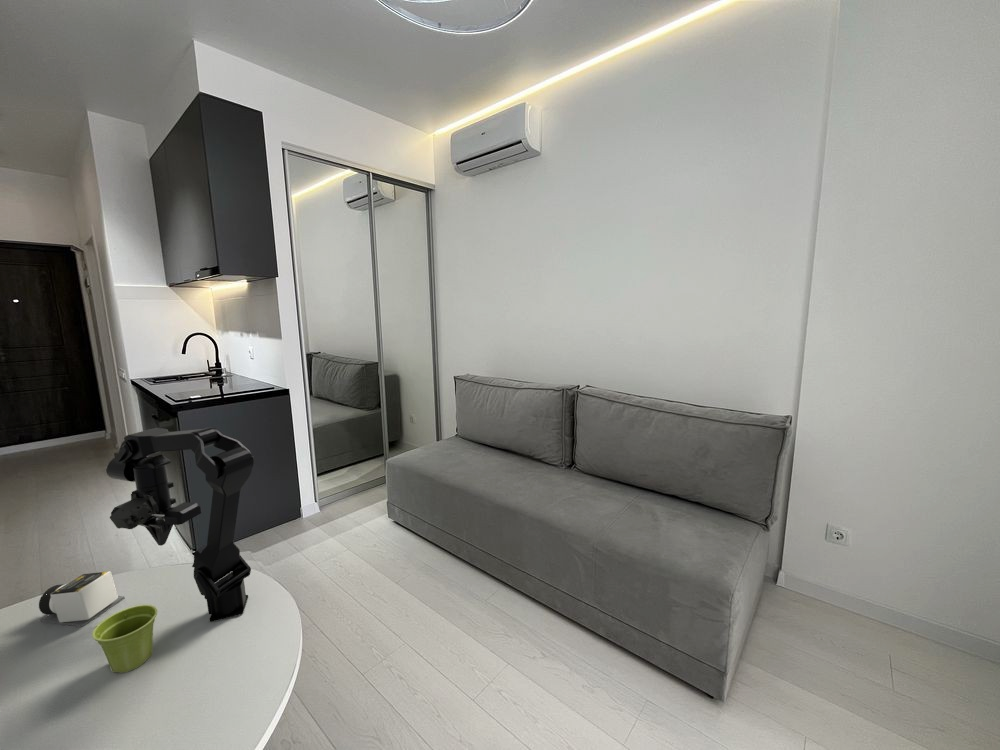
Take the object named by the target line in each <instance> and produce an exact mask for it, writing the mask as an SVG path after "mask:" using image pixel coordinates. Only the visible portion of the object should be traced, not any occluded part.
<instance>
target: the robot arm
mask: <svg viewBox="0 0 1000 750" xmlns="http://www.w3.org/2000/svg"><path fill="white" fill-rule="evenodd" d="M211 446H213V447H215V448H217V449H220V450H222V451H223V452H220V453H217V454H214V455H212V456H209V455H208V454H207V453H205V452H206V451H205V448H208V447H211ZM187 450H190V451H192V453H194V458H195V464H196V465H195V466H196V467H197V468H198V469H199V470H200V471H201V472H202V473H204V474H205V481H206V482H207V484H208V485H209V486H210V488H211V489H212V496H211V497H212V498H211V504H210V515H209V524H208V533H207V541H206V544H205V545H204V546H202V547H200V548H199V549H197V550H195V552H194V553H193V562H192V563H193V564H192V565H191V567H192V568H193V579H194V581H195V584H196V585H197V589H198V591H199V593H200V595H201V596H204V599H205V600H206V604H207V605H206V606H207V612H208V615H209V616H210V617H209V621H208V622H210V623H212V622H216V621H221V620H225V619H229V618H232V617H237V616H240V615H241V616H242V615H243V614H244V613H245V608H246V605H247V602H248V599H249V595H248V594H246V588H245V587H246V585H245V579H246V578H247V577H250V575H251V572H252V568H251V567H250V565H249V564H248V562H246V560H245V559H244V558H243V557H242V556H241V553H240V552H241V550H240V548H239V547H238V546H237V545H236V544H235V541H234V539H235V533H236V532H235V531H236V524H237V519H238V518H237V517H238V510H239V503H240V495H241V489H242V488H243V486H244V485H245V483H246V482H247V481H248V479H249V478H250V476H251V474H252V471H253V468H254V464H255V459H254V456H253V455H254V454H253V453H252V452H251V451H250V450H249V449H248V448H247V447H246V446H245V445H244V444H242V442H241V441H239V440H238V439H236V438H232V437H230V436H227V435H224V434H223V433H221V432H220V431H219V430H218V429H217V428H216V427H211V426H210V427H209V426H208V427H205V428H201V429H200V428H199V429H188V430H177V431H169V430H168V429H167V428H162V427H155V428H150V429H145V430H141V431H138V432H134V433H130V434H127V435H125V436H124V437H123V441H122V442H121V445H120V447H119V450H118V451H116V452H114V453H113V454H114V455H113V456H114V458H112V459H111V460H110V461H109V462H108V464H107V467H106V469H105V470H106V474H107V476H108V477H109V478H111V479H114V480H118V481H119V480H120V481H126V482H131V483H135V490H132V491H131V493H130V500H128V501H126V502H124V503H121V504H120V505H117V506H114V508H113V509H112V510H111V511H110V516H109V519H110V520H111V522H112V523H113V524H114V526H115V527H116V528H117V529H126V530H133V529H136V528H137V527H138V526H141V527H143V528H145V529H146V530H147V531H148V533H149V534H150V535H151V537H152V538H153V540H154V542H156V544H157V546H164V545H165V544H167V543H166V542H167V540H168V538H169V536H170V534H171V531H172V528H173V527H174V526H180V525H183V524H184V523H187V522H188V521H191V520H192V519H194V518H196V517H197V516H199V515H200V514H202V508H201V504H199V503H197V502H190V501H189V502H187V501H186V502H185V501H184V502H182V503H180V504H178V505H174V504H176V503H177V500H176V498H172V497H171V491H170V489H171V488H173V487H174V482H170V481H169V480H168V472H167V465H170V464H171V463H172V461H171V460H170V459H169V458H167V457H166V456H164V455H163V454H158V453H162V452H172V451H173V452H175V451H187ZM154 454H158V455H156V456H151V455H154Z"/></svg>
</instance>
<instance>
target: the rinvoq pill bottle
mask: <svg viewBox="0 0 1000 750" xmlns="http://www.w3.org/2000/svg"><path fill="white" fill-rule="evenodd" d="M46 594H47V595H46ZM118 596H119V595H118V591H117V589H116V586H115V581H114V578H113V575H112V572H111V570H110V571H108V570H107V571H102V572H92V573H91V572H90V573H89V572H88V573H83V574H81V575H79V576H78V577H76V578H74V579H72V580H70V581H69V582H68V583H61V584H56V585H53V586H51V587H48V589H47V590H45V592H43V594H42V595H41V597H40V599H39V602H38V609H39V611H40V612H41V613H42V614H43V615H46V616H48V615H51V614H57V617H58V620H59V622H70V621H79V620H88V619H90V618H91V617H93V616H94V615H96V614H97V613H98V612H100V611H101V610H103V609H104V608H105V607H107V606H108V605H110V604H111V603H112V602H114V601H115V600H117V599H118Z"/></svg>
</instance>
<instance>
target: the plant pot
mask: <svg viewBox="0 0 1000 750" xmlns="http://www.w3.org/2000/svg"><path fill="white" fill-rule="evenodd" d="M157 615H158V609H157V607H156V606H155V605H152V604H139V605H135V606H130V607H127V608H124V609H122V610H119V611H117V612H115V613H114V614H112V615H110V616H108V617H107V618H104V619H103V620H102V621H101V622H100V623H98V625H96V627H95V628H94V629H93V631H92V633H91V634H92V638H93V640H94V641H96V642H97V643H98V645H99V646H101V649H102V651H103V653H104V655H105V658H106V660H107V662H108V665H109V667H110V670H111V672H113V673H121V674H123V673H127V672H130V671H133V670H134V669H136V668H139V667H140V666H142V665H143V664H144V663H145V662H146V661H147V659H150V658H151V656H152V655H153V644H154V643H153V636H154V623H155V621H156V617H157Z"/></svg>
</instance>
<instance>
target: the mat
mask: <svg viewBox="0 0 1000 750" xmlns="http://www.w3.org/2000/svg"><path fill="white" fill-rule="evenodd" d="M125 598H126V597H125V595H123V596H122V595H118V599H117V600H115V601H114V602H112V603H111V604H110V605H108V606H107V607H105V608H104V609H103V610H101V611H100V612H98V613H97V614H96V615H94V616H93V617H91V618H90V619H88V620H79V621H70V622H59V620H58V617H57V614H51V615H46V616H44V617H43V618H41V619H40V622H41V623H49V624H57V625H64V626H65V625H66V626H74V627H81V628H82V627H83V626H86V625H87V624H89V622H91V621H93V620H95V619H96V618H97V617H100V615H102V614H103V613H105V612H106V611H108V610H109V609H111V608H113V607H114V606H116V605H118V604H119V603H120V602H121V601H123V600H124V599H125Z"/></svg>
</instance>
